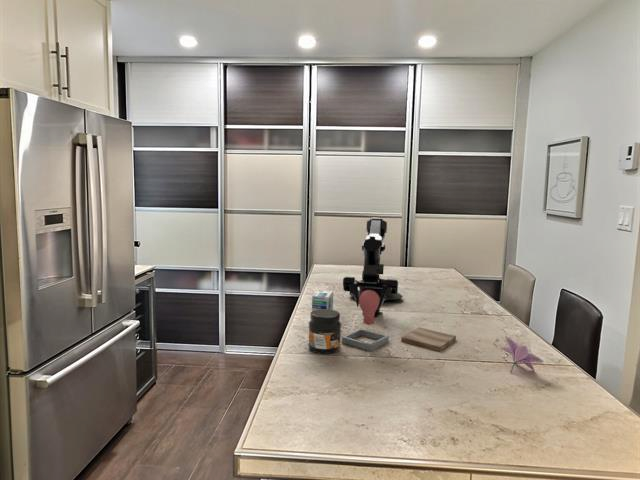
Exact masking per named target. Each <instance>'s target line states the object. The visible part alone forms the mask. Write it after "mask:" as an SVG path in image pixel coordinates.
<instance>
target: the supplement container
mask: <svg viewBox="0 0 640 480" xmlns="http://www.w3.org/2000/svg"><path fill="white" fill-rule="evenodd" d="M309 317H310V318H309V319H310V320H309V321H308V348H309V350H310V351H312V352H314V353H317V354H324V355H326V354H327V355H328V354H333V353H336V352H338V351H339V350H340V348H341V331H342V329H341V328H342V323H341V321H340V319H341V313H340V312H339V311H337V310H334V309H333V310H330V309H318V310H314V311H312V310H311V312H310V316H309Z"/></svg>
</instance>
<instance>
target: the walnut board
mask: <svg viewBox="0 0 640 480" xmlns="http://www.w3.org/2000/svg"><path fill="white" fill-rule="evenodd" d="M456 340H457V336H456V335H454V334H449V333H445V332H441V331H436V330H431V329H427V328H423V327H417V328H415V329H413V330H411V331H410V332H408V333H405V335H403V336H401V338H400V342H403V343H406V344H410V345H415V346H417V347H418V346H419V347H421V348H426V349H430V350H433V351H438V352H441V351H443V350H444V349H446V348H447V347H448V346H449V344H450V345H451V344H452V343H454V342H455V341H456ZM453 341H454V342H453Z"/></svg>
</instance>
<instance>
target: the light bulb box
mask: <svg viewBox="0 0 640 480" xmlns="http://www.w3.org/2000/svg"><path fill="white" fill-rule="evenodd" d="M318 309H330V310H334V291H333V290H324V289H323V290H321V289H316V292H314V293H313V295H312V298H311V312H312V311H314V310H318Z"/></svg>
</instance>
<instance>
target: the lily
mask: <svg viewBox="0 0 640 480" xmlns="http://www.w3.org/2000/svg"><path fill="white" fill-rule="evenodd" d="M504 338H505V340H506V342H507V345H508V346H507V347H506V346H504V347H503V346H502V347H501V346H500V349H501V350H503V351H504V352H506V353H508V354H509V355H510V356H511V358H512V362H513V364H512V367H511V370H510V373H511V372H513V370H514V366H515V365H516V364H521V363H522V364H523V365H525V366H527V367H528V368H529V369H530V370H531V369H532V370H531V371H533V370H534V371H535V368H534V366H533V364H532V363H545V361H544V360H543V359H542V358H540V357H539V356H537V355H535V354H533V353H531V352H529V349H528V346H527V345H518V343H517V342H516V341H514V340H513V339H512V338H510V337H509V336H507V335H504Z"/></svg>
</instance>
